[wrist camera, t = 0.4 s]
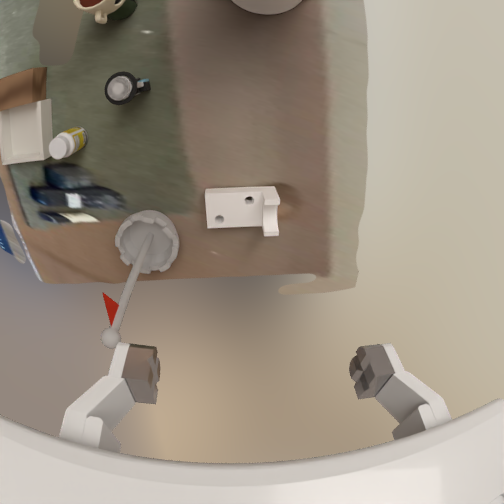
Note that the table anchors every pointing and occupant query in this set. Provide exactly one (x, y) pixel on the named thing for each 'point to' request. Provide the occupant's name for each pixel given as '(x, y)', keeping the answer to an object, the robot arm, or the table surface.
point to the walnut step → (23, 88)
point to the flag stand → (140, 260)
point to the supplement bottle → (68, 142)
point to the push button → (124, 87)
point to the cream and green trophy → (107, 8)
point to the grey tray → (26, 132)
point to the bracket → (243, 208)
